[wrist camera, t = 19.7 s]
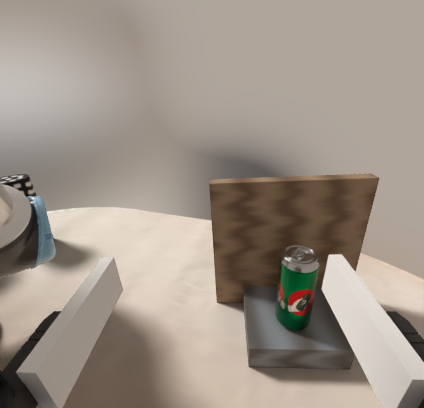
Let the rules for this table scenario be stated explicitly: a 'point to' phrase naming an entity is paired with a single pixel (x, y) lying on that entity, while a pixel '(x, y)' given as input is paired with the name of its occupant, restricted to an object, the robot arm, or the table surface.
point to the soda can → (296, 286)
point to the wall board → (273, 248)
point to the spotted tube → (20, 184)
